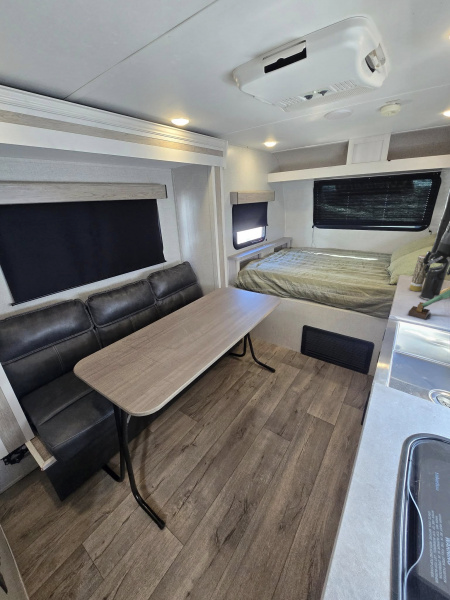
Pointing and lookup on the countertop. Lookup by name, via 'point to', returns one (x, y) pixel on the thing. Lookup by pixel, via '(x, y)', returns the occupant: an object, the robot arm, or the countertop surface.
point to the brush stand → (419, 311)
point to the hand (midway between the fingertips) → (436, 273)
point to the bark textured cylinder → (418, 274)
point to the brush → (443, 294)
